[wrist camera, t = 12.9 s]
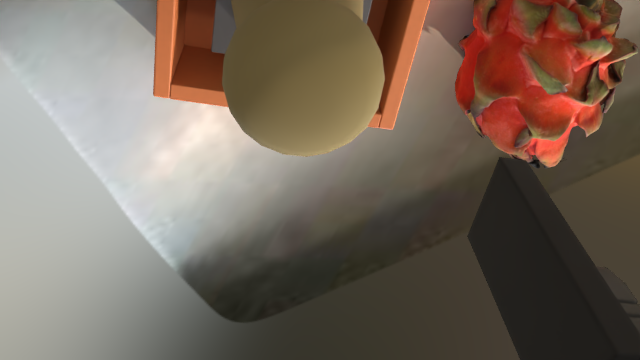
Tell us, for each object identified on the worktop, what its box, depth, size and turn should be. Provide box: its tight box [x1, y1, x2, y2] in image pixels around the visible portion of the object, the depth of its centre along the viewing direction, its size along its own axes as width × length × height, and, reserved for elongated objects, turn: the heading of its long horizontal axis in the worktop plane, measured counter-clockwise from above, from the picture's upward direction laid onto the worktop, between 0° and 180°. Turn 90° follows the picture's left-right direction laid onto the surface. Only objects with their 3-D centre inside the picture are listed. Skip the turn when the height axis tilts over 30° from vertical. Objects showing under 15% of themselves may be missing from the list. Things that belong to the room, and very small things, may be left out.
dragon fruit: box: [455, 0, 638, 168], centre depth 32 cm, size 8×8×12 cm
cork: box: [222, 0, 385, 157], centre depth 23 cm, size 6×6×11 cm
